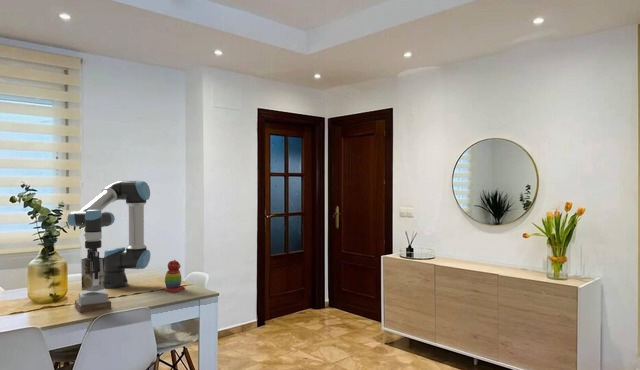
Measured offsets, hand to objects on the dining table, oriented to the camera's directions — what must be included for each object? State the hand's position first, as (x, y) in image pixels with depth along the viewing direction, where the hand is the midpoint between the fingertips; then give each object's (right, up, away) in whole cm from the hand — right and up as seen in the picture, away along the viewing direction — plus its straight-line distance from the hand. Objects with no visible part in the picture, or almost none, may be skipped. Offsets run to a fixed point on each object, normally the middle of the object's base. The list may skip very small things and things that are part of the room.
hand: (93, 283), depth 227 cm
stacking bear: (+29, -13, +37) cm, 49 cm away
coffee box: (0, -3, 0) cm, 3 cm away
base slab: (0, -13, 0) cm, 13 cm away
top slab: (0, -9, 0) cm, 9 cm away
